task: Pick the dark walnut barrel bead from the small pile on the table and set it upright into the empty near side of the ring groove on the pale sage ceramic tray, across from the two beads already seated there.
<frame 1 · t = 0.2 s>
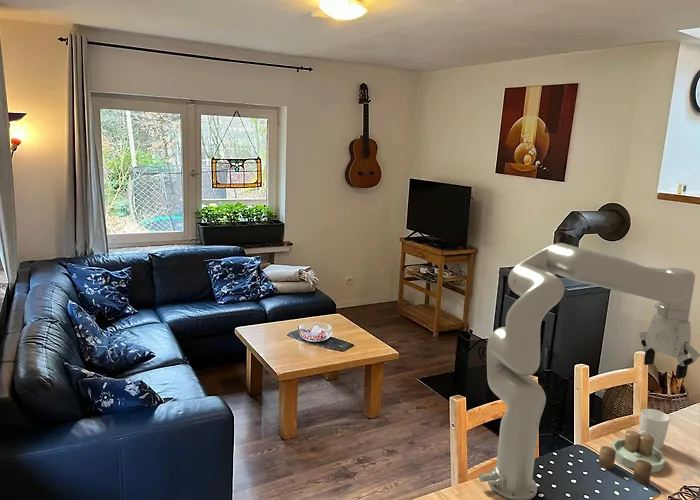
hand: (663, 370, 149), 30 cm above the table, fingers open, 9 cm apart
bead a: (641, 479, 149), on the table
bead b: (605, 465, 155), on the table
tray: (636, 458, 159), on the table
white cup: (650, 444, 168), on the table
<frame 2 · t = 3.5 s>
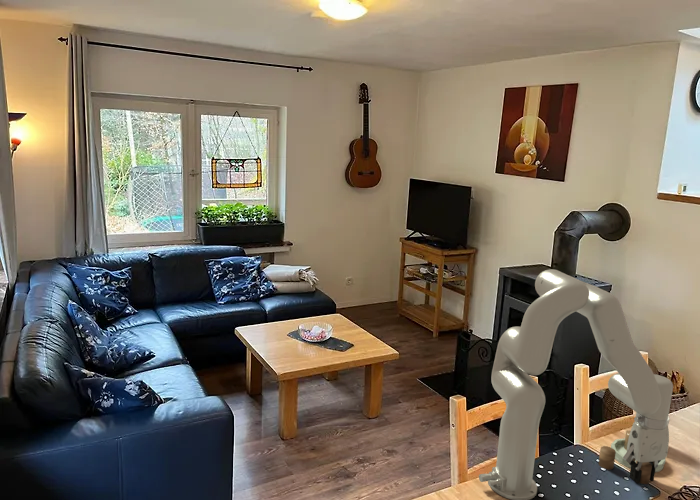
hand: (641, 478, 149), 0 cm above the table, fingers closed on bead a, 4 cm apart
bead a: (641, 479, 149), on the table, touching gripper
everything else where it was.
when the fingers open (2 cm above the table, at t = 8.4 s): bead a drops 1 cm, resting on tray.
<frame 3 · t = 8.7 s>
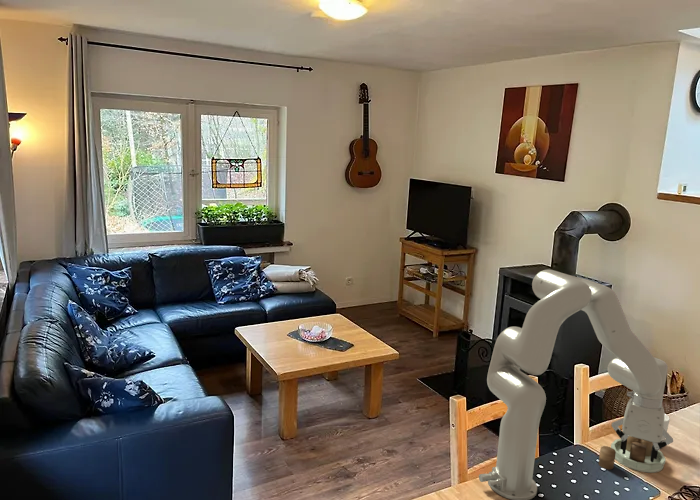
hand: (637, 455, 155), 3 cm above the table, fingers open, 6 cm apart
bead a: (636, 461, 156), point 1 cm above the table, touching tray
everything else where it was.
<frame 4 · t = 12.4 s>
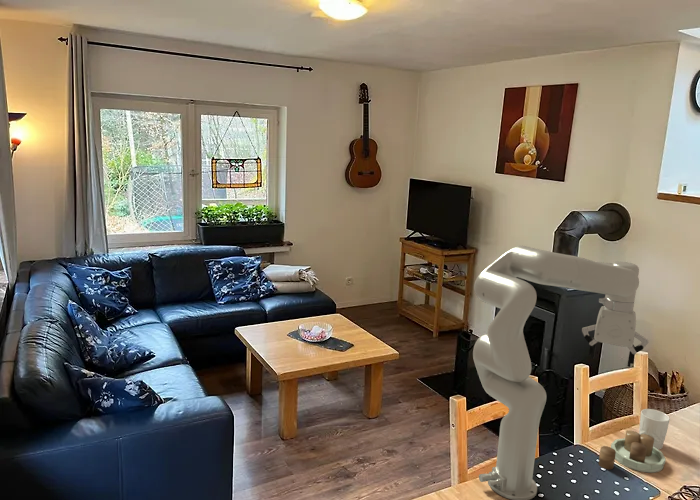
hand: (610, 361, 154), 30 cm above the table, fingers open, 9 cm apart
nothing on the table moved.
at the end: bead a 0.3 cm from the target spot on the tray, point 1.0 cm above the tray's base; bead a tilted 0°; the gripper is holding nothing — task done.
